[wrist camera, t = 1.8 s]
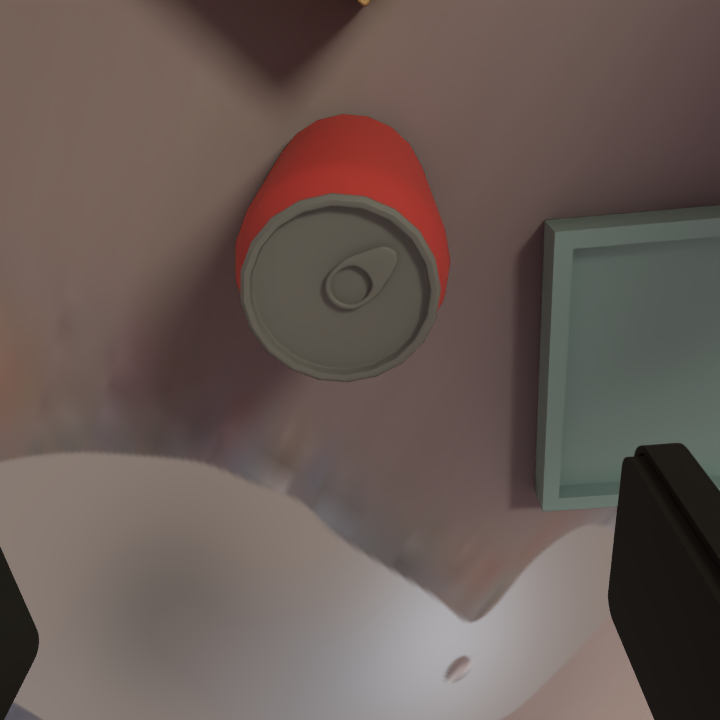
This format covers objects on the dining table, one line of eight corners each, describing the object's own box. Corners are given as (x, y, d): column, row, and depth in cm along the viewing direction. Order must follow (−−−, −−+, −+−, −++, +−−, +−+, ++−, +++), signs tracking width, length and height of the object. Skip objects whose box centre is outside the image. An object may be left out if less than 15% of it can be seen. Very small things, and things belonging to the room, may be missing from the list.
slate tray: (895, 189, 29) (926, 200, 27) (817, 470, 36) (838, 491, 34) (544, 220, 30) (554, 232, 28) (534, 489, 36) (542, 511, 35)
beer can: (455, 202, 29) (507, 310, 19) (340, 291, 31) (328, 436, 21) (358, 76, 27) (354, 118, 16) (241, 182, 29) (169, 281, 18)
